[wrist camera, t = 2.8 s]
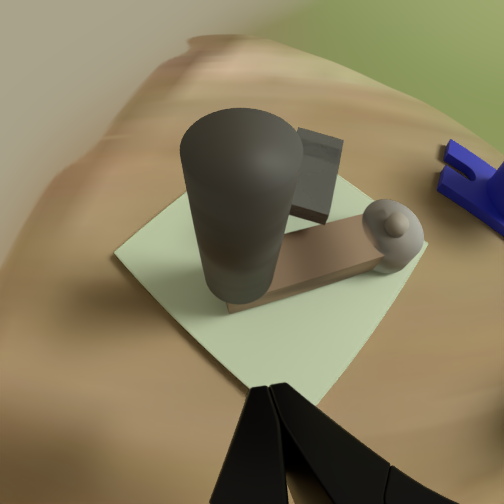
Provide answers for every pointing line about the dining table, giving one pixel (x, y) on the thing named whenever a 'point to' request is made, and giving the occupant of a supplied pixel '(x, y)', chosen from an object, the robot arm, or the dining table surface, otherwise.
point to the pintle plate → (268, 315)
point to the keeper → (316, 176)
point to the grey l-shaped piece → (276, 215)
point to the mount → (474, 185)
